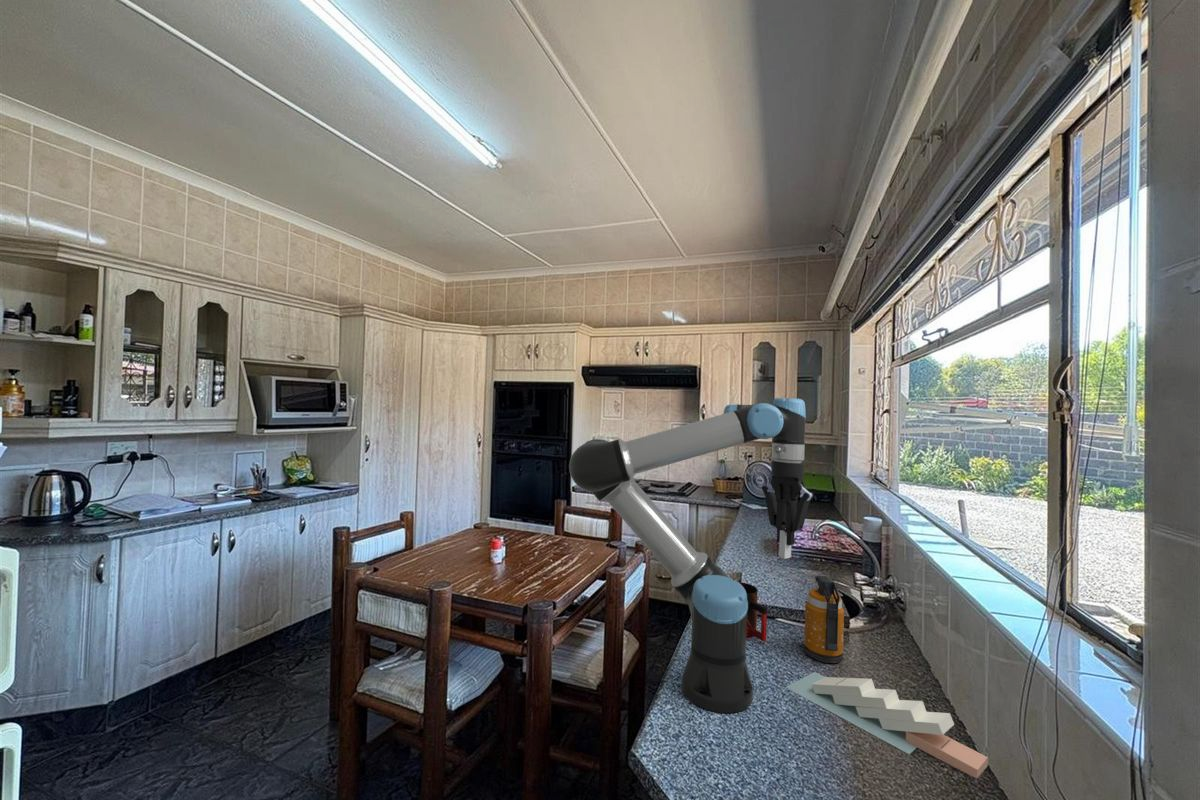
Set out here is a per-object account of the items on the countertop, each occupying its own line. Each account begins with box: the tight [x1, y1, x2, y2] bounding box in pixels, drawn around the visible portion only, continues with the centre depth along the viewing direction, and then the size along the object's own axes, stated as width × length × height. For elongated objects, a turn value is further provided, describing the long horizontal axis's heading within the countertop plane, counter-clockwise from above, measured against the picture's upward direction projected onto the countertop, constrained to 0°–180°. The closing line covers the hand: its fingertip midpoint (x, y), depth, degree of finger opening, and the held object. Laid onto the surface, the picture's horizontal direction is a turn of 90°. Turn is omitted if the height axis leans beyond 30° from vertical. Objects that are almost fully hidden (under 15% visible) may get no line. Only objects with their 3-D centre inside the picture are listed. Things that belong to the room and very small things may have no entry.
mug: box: [737, 581, 768, 643], centre depth 134 cm, size 10×14×12 cm
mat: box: [785, 671, 918, 755], centre depth 100 cm, size 25×12×1 cm, turn 36°
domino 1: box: [812, 676, 876, 697], centre depth 103 cm, size 2×5×11 cm
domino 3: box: [856, 699, 928, 721], centre depth 95 cm, size 2×5×11 cm
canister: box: [803, 575, 845, 664], centre depth 121 cm, size 9×11×20 cm
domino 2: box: [832, 688, 900, 709], centre depth 99 cm, size 2×5×11 cm
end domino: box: [906, 731, 989, 780], centre depth 87 cm, size 2×5×11 cm
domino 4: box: [879, 711, 955, 735], centre depth 91 cm, size 2×5×11 cm
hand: (785, 557), depth 117 cm, fingers closed
